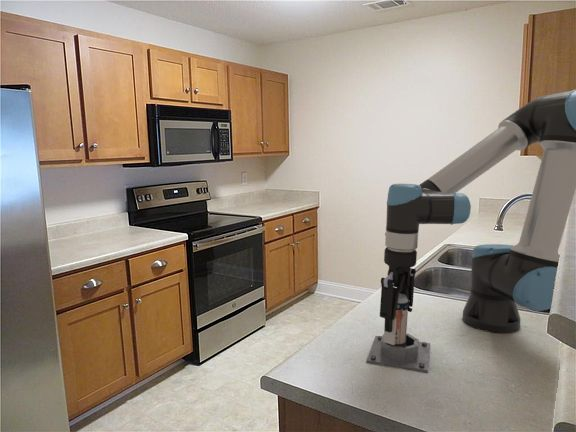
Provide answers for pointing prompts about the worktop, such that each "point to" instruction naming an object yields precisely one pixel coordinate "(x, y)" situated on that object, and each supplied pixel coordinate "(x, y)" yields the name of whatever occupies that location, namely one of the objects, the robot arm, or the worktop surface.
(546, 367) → the worktop surface
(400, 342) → the beer can
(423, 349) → the duct flange
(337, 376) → the worktop surface
